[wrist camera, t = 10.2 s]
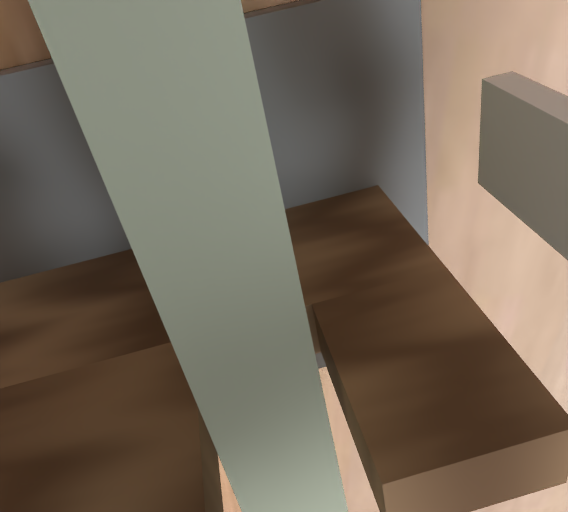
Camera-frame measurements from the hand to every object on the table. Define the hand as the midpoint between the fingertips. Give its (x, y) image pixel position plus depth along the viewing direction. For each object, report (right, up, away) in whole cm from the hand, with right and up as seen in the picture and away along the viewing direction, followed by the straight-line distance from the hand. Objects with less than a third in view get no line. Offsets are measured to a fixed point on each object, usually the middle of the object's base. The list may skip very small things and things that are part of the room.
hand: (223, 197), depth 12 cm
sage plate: (-1, +3, +6) cm, 7 cm away
